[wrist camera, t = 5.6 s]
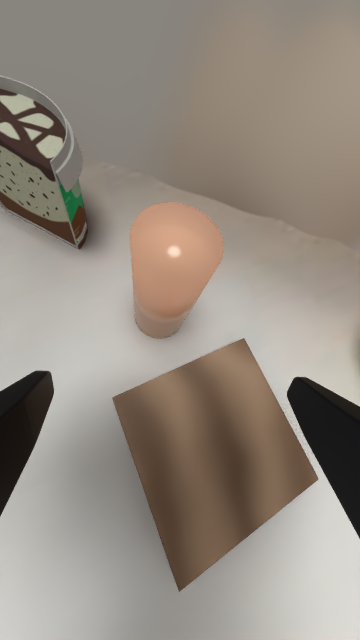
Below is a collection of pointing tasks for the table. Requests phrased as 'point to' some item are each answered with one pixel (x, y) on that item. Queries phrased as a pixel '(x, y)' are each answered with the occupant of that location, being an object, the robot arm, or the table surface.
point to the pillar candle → (171, 264)
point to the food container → (40, 163)
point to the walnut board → (212, 455)
